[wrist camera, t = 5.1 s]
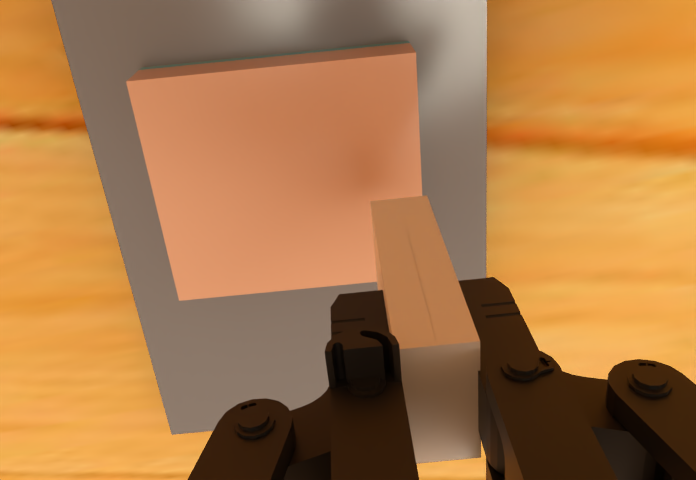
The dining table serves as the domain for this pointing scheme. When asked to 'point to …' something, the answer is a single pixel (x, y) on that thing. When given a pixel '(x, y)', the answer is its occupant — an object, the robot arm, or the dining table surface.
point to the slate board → (140, 208)
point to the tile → (277, 163)
